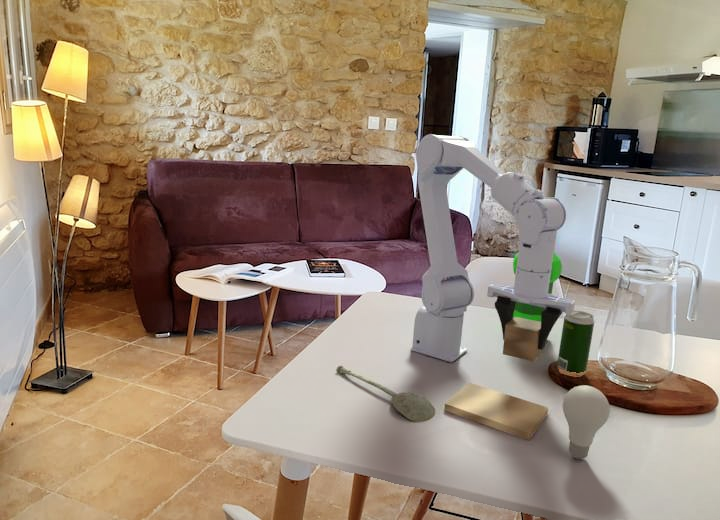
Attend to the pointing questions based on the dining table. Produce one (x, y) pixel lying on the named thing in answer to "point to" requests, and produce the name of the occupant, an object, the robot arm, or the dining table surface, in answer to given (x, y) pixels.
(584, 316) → the beer can
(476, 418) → the oak board
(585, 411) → the lightbulb
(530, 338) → the tan cube
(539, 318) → the plastic bottle
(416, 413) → the soupspoon
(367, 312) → the dining table surface
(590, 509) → the dining table surface
